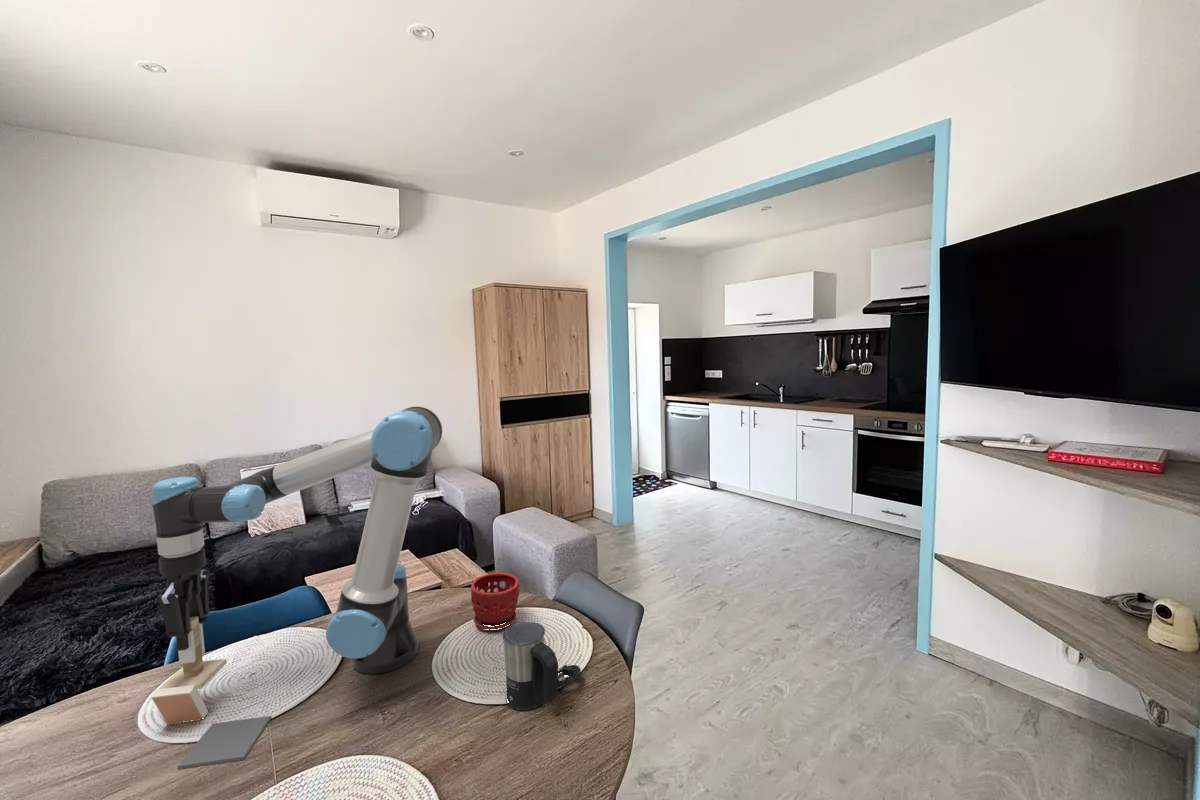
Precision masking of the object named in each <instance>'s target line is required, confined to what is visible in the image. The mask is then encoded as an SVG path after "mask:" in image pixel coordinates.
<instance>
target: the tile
mask: <svg viewBox="0 0 1200 800" xmlns="http://www.w3.org/2000/svg"><path fill="white" fill-rule="evenodd" d="M198 690H199V689H197V688H196V686H195V685H190V686H182V687H173V688H165V689H159V688H157V689H155V691H154V692H153V693H152V695H151V698H150V699H152V701H153V703H154V705H155V707H156V708H157V710H158V712H159V714H160V715H161V718H162V719H163V721H164V722H165V724H166V725H173V724H172V723H174V724H181V723H180V722H182V723H184V722H183V721H190V722H192V721H191V720H197V721H199V720H198V719H202V718H204V717H205V716H206V715H208V714H209V711H208V708H207V707H206V705H205V703H204V701H203V698H202V697H201V694H200V692H199V691H198ZM206 717H207V716H206ZM206 717H205V718H206Z"/></svg>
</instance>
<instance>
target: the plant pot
mask: <svg viewBox="0 0 1200 800" xmlns="http://www.w3.org/2000/svg"><path fill="white" fill-rule="evenodd" d="M501 582H504V583H505V587H502V586H501V584H500V583H501ZM488 583H489V585H488V586H487V584H488ZM495 583H496V584H495ZM519 583H520V581H519V579H518V577H517V576H515V575H513V574H510V573H505V572H492V573H487V574H483V575H480V576H478V577H476V578H475V579H474V580H473V581H472V583H471V584H470V598H471V604H472V609H473V612H474V617H473V623H474V625H475V626H476V627H477V628H478V627H479V629H480V628H481V629H480V630H482V629H489V630H490V629H498V628H503V627H505V626H507V625H509V624H511V623H512V622H513V621H514V620H516V619H517V612H516V609H517V606H518V602H519V594H520V584H519ZM495 589H497V591H494V590H495ZM481 590H482V591H481ZM488 591H489V592H488ZM505 622H506V623H505ZM514 622H515V621H514ZM514 622H513V623H514ZM503 623H505V624H503ZM513 623H512V624H513ZM483 624H484V625H491V626H494V627H488V626H484V625H483ZM500 624H503V625H500ZM512 624H511V625H512ZM495 625H499V626H495Z"/></svg>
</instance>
